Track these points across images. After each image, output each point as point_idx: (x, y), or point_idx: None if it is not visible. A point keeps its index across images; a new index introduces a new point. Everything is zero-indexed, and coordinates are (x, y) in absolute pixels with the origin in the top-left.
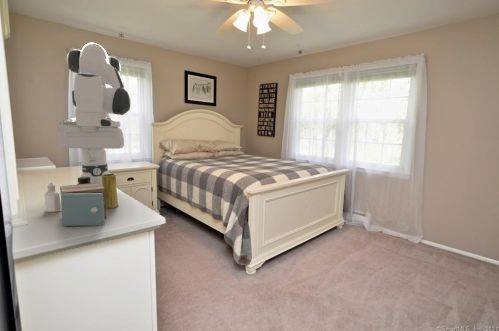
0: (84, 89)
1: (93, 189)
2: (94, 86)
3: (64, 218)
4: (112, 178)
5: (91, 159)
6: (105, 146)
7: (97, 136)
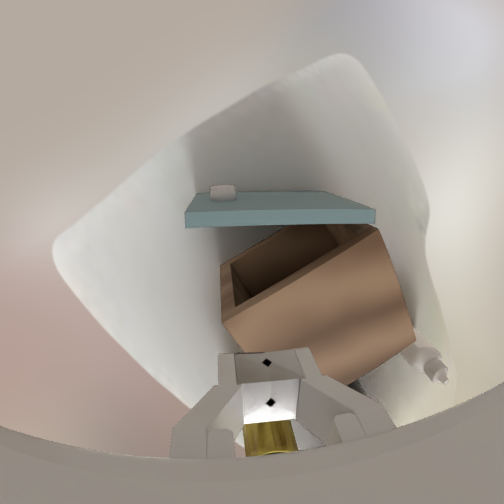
0: None
1: (265, 297)
2: None
3: (328, 194)
4: (252, 448)
5: (273, 357)
6: (41, 456)
7: None
